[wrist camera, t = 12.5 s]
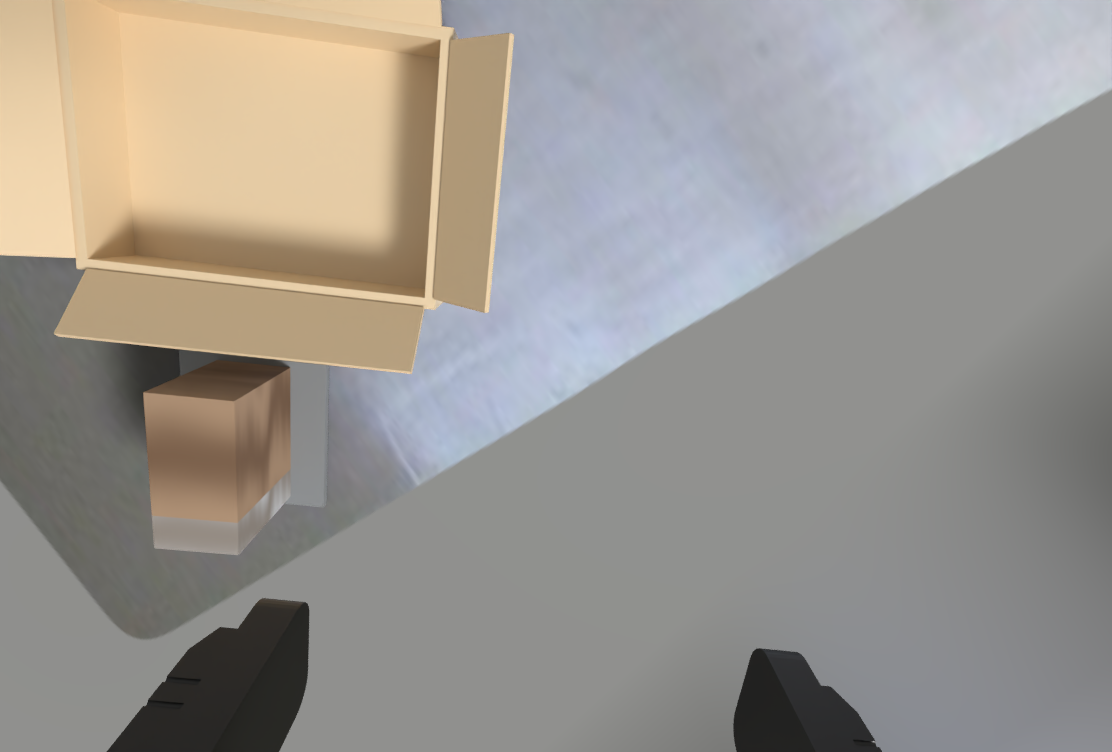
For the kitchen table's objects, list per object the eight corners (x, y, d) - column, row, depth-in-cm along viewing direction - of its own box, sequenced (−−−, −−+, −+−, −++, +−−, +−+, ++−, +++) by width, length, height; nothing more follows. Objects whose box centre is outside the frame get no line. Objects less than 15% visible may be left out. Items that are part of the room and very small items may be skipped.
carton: (41, -78, 30) (-95, -160, 23) (525, -4, 32) (522, -62, 25) (78, 308, 35) (-25, 328, 29) (491, 354, 37) (481, 382, 30)
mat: (184, 347, 36) (178, 349, 35) (329, 362, 37) (325, 365, 36) (191, 490, 39) (186, 495, 38) (326, 503, 39) (323, 507, 39)
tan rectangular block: (217, 360, 36) (143, 392, 29) (290, 367, 36) (234, 401, 29) (221, 490, 38) (154, 548, 31) (290, 496, 38) (238, 555, 32)
